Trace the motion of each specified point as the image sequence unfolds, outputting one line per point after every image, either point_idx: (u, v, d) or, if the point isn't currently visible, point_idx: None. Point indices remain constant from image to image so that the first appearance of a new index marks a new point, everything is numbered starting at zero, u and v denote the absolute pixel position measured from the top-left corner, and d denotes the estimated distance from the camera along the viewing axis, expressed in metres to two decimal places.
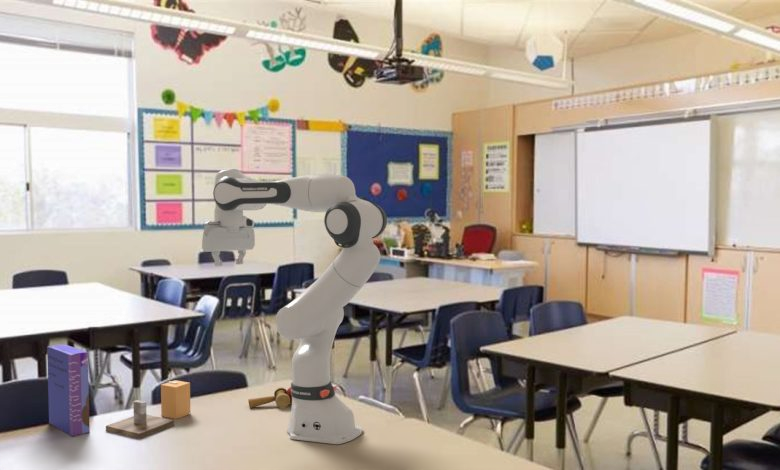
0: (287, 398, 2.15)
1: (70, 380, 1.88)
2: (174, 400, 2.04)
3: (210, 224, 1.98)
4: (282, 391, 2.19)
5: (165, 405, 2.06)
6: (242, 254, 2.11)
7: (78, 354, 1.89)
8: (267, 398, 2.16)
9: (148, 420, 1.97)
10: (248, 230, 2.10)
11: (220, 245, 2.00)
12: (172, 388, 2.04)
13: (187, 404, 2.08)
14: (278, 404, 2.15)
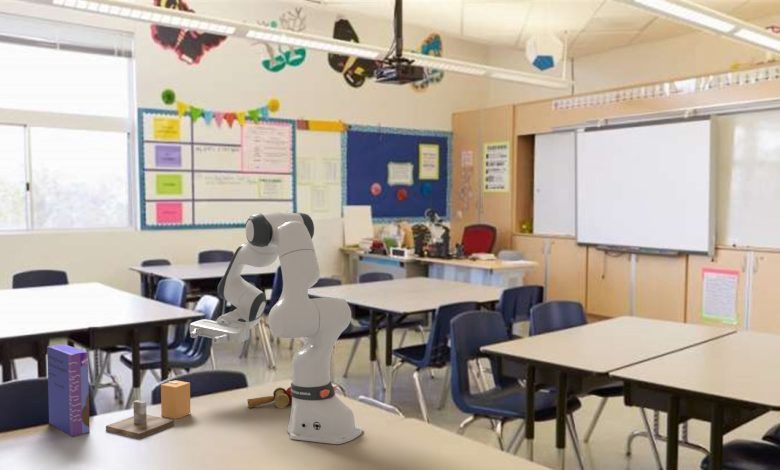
0: (286, 398, 2.15)
1: (70, 380, 1.88)
2: (174, 400, 2.04)
3: None
4: (281, 391, 2.19)
5: (165, 405, 2.06)
6: None
7: (78, 354, 1.89)
8: (266, 398, 2.16)
9: (148, 420, 1.97)
10: (238, 324, 2.25)
11: (202, 324, 2.25)
12: (172, 388, 2.04)
13: (187, 404, 2.08)
14: (277, 404, 2.15)
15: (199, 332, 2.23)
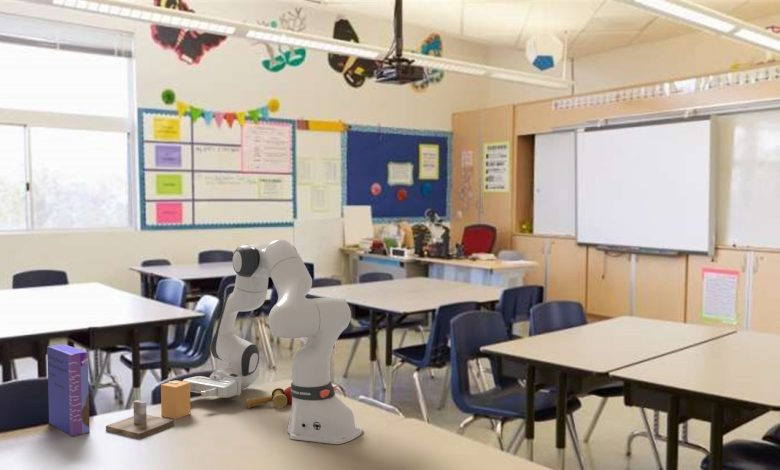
0: (284, 398, 2.15)
1: (70, 380, 1.88)
2: (174, 400, 2.04)
3: None
4: (279, 391, 2.19)
5: (165, 405, 2.06)
6: None
7: (78, 354, 1.89)
8: (264, 398, 2.16)
9: (148, 420, 1.97)
10: (229, 379, 2.20)
11: (194, 380, 2.22)
12: (172, 388, 2.04)
13: (187, 404, 2.08)
14: (275, 404, 2.15)
15: (190, 388, 2.20)
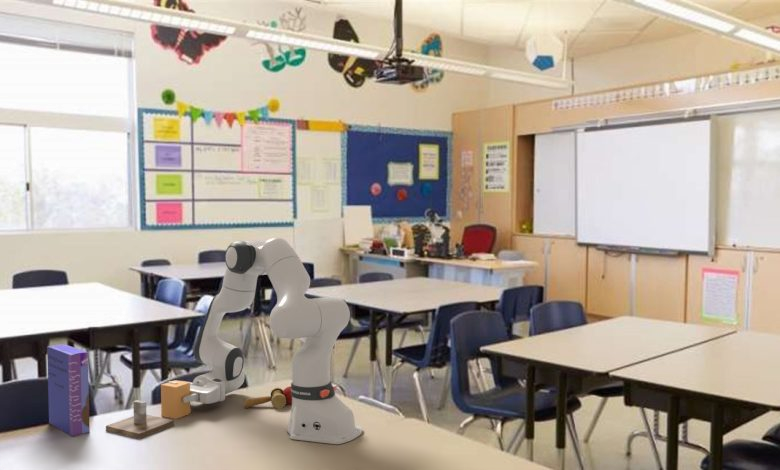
0: (283, 398, 2.15)
1: (70, 380, 1.88)
2: (174, 400, 2.04)
3: None
4: (278, 391, 2.19)
5: (165, 405, 2.06)
6: None
7: (78, 354, 1.89)
8: (263, 398, 2.16)
9: (148, 420, 1.97)
10: (212, 384, 2.13)
11: None
12: (172, 388, 2.04)
13: (187, 404, 2.08)
14: (274, 404, 2.14)
15: None
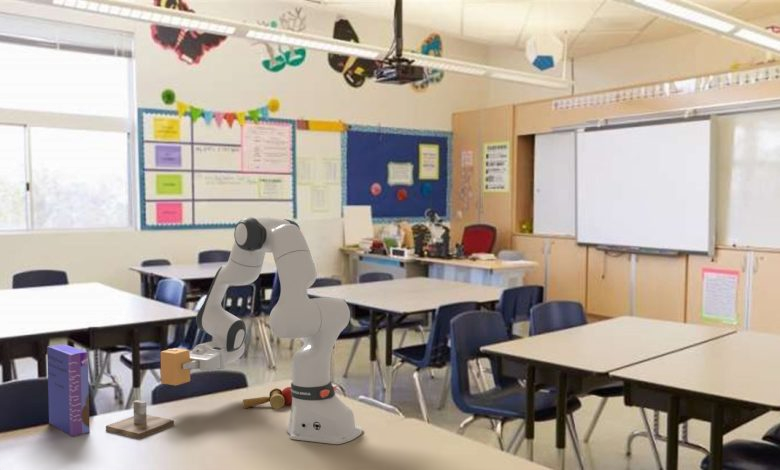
0: (281, 399, 2.15)
1: (70, 380, 1.88)
2: (174, 366, 2.03)
3: None
4: (277, 392, 2.18)
5: (165, 372, 2.05)
6: None
7: (78, 354, 1.89)
8: (262, 399, 2.15)
9: (148, 420, 1.97)
10: (212, 352, 2.13)
11: None
12: (172, 354, 2.03)
13: (186, 371, 2.07)
14: (272, 405, 2.14)
15: None
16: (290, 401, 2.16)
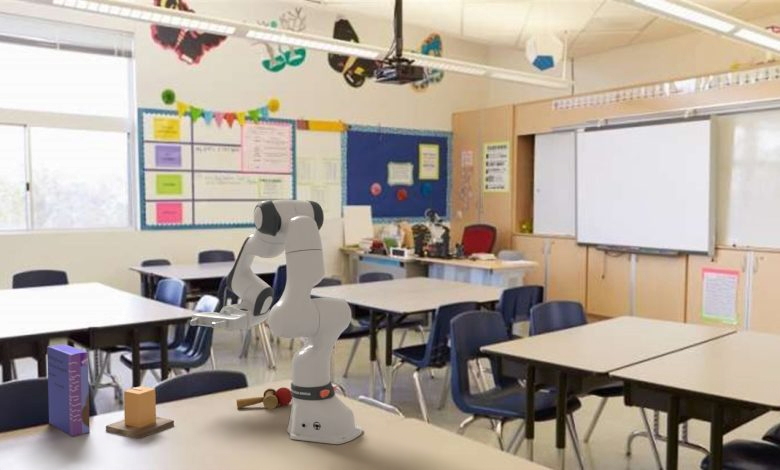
0: (275, 399, 2.14)
1: (70, 380, 1.88)
2: (138, 407, 1.91)
3: None
4: (271, 392, 2.18)
5: (128, 413, 1.93)
6: None
7: (78, 354, 1.89)
8: (255, 399, 2.15)
9: None
10: (240, 313, 2.18)
11: (204, 314, 2.20)
12: (135, 395, 1.91)
13: (152, 412, 1.95)
14: (266, 405, 2.13)
15: (200, 321, 2.18)
16: (283, 402, 2.15)
